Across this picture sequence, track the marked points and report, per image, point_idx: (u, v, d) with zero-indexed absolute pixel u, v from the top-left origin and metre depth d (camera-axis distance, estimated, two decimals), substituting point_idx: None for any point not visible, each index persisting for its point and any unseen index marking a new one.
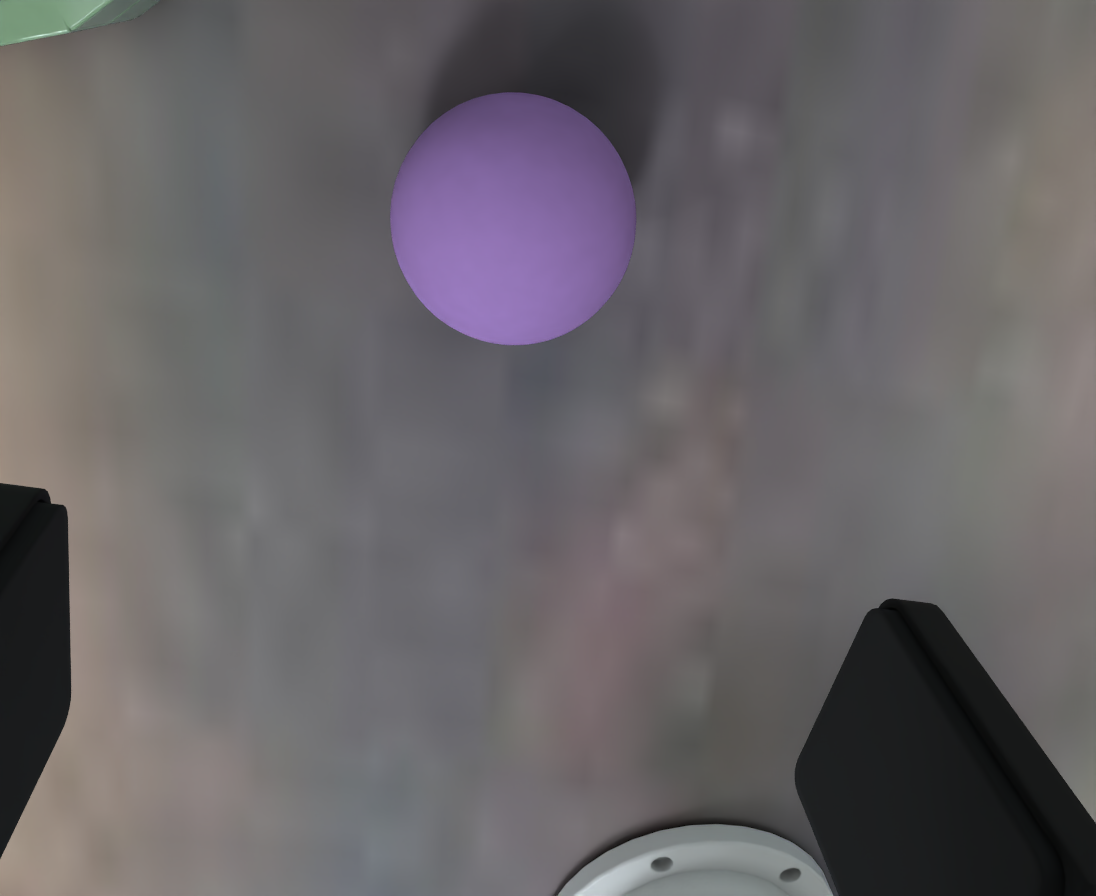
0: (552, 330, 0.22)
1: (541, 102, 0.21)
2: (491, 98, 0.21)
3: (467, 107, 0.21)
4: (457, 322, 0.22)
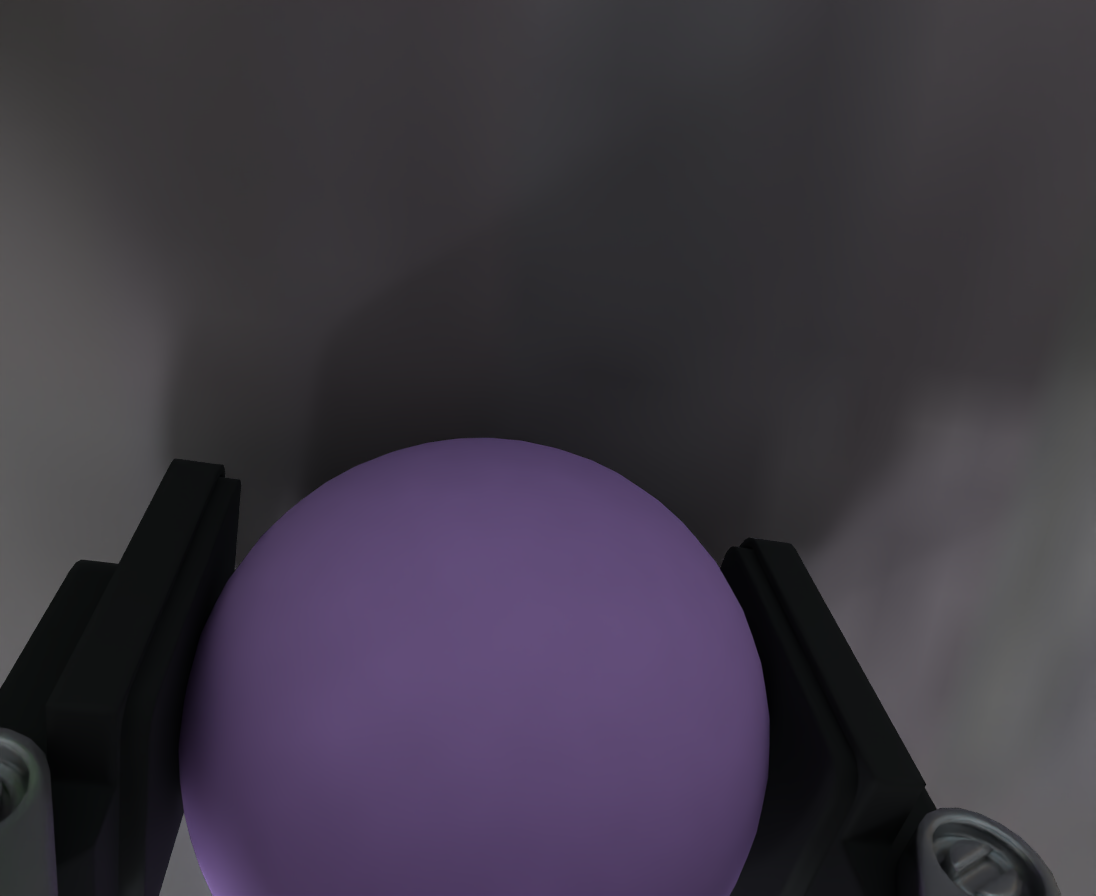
0: None
1: (542, 519, 0.08)
2: (412, 506, 0.08)
3: (349, 534, 0.08)
4: None
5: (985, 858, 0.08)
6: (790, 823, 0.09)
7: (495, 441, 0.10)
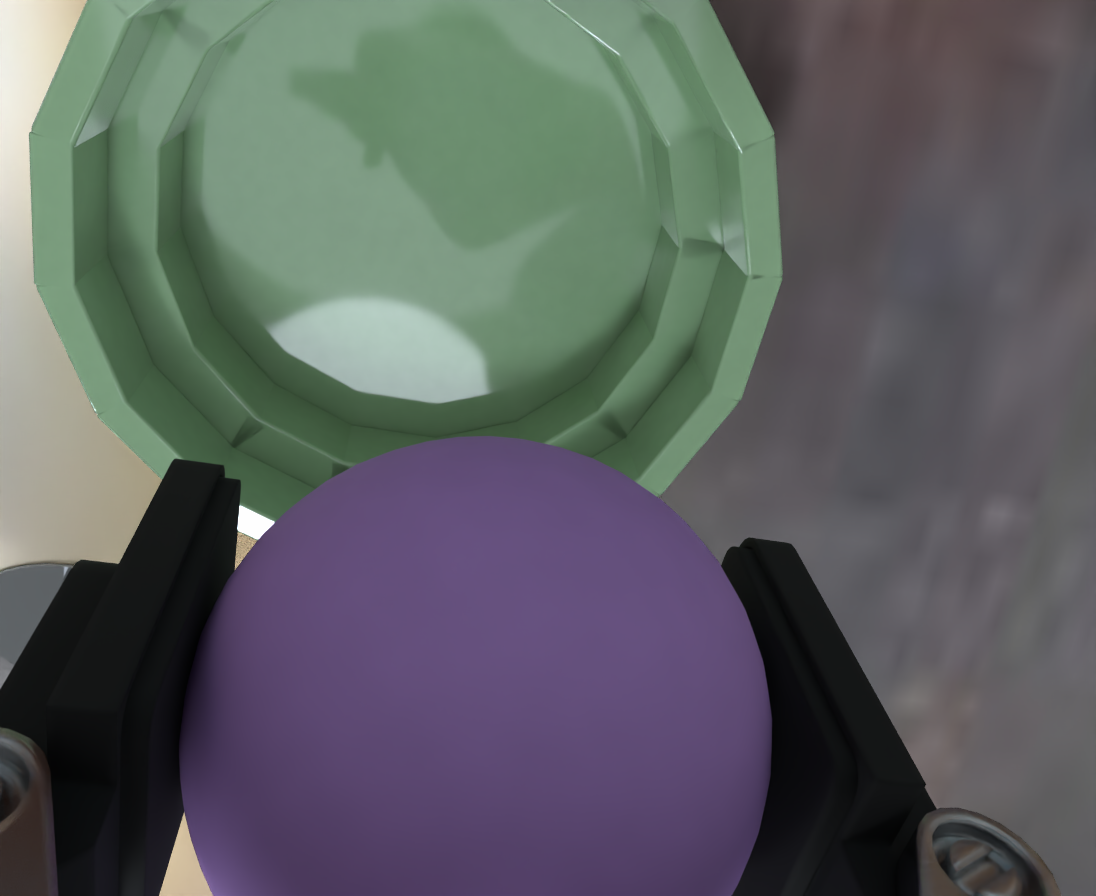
0: None
1: (544, 517, 0.08)
2: (414, 504, 0.08)
3: (351, 532, 0.08)
4: None
5: (985, 858, 0.08)
6: (790, 823, 0.09)
7: (497, 439, 0.10)
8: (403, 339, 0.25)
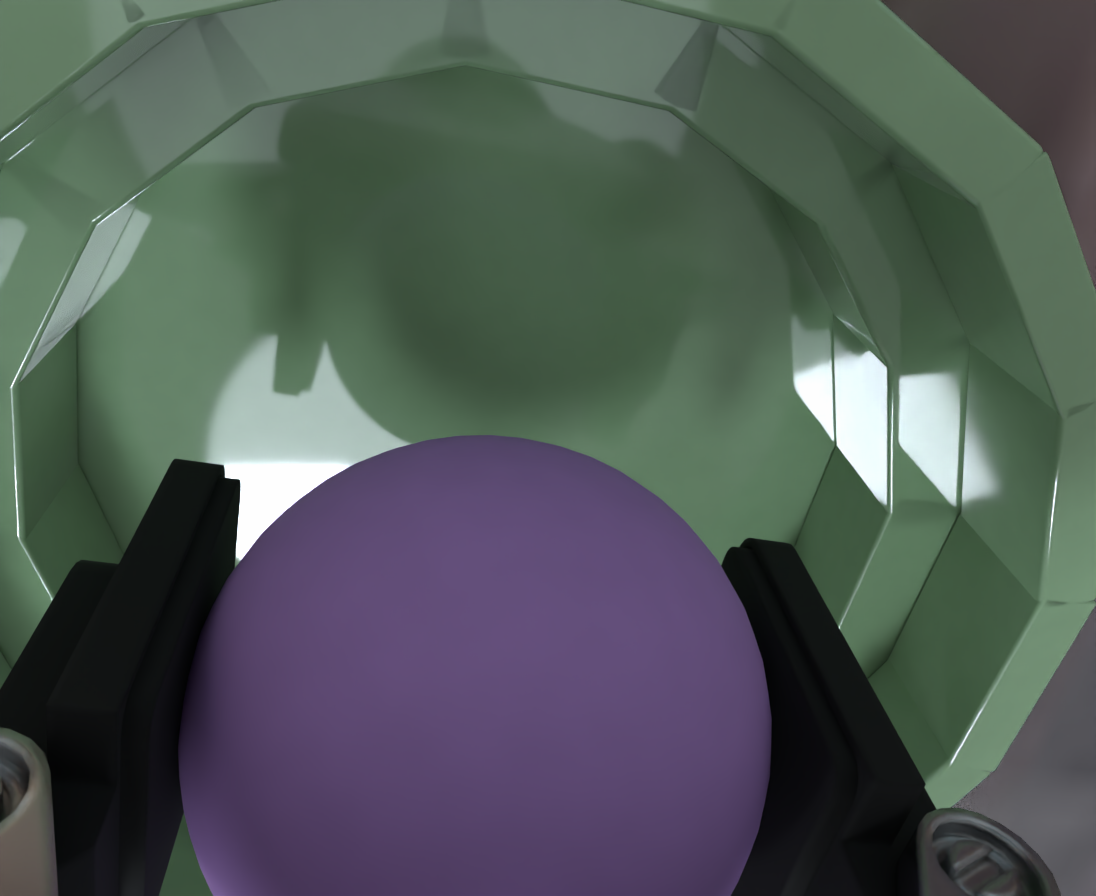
0: None
1: (544, 516, 0.08)
2: (413, 503, 0.08)
3: (350, 531, 0.08)
4: None
5: (985, 858, 0.08)
6: (790, 823, 0.09)
7: (496, 438, 0.10)
8: None
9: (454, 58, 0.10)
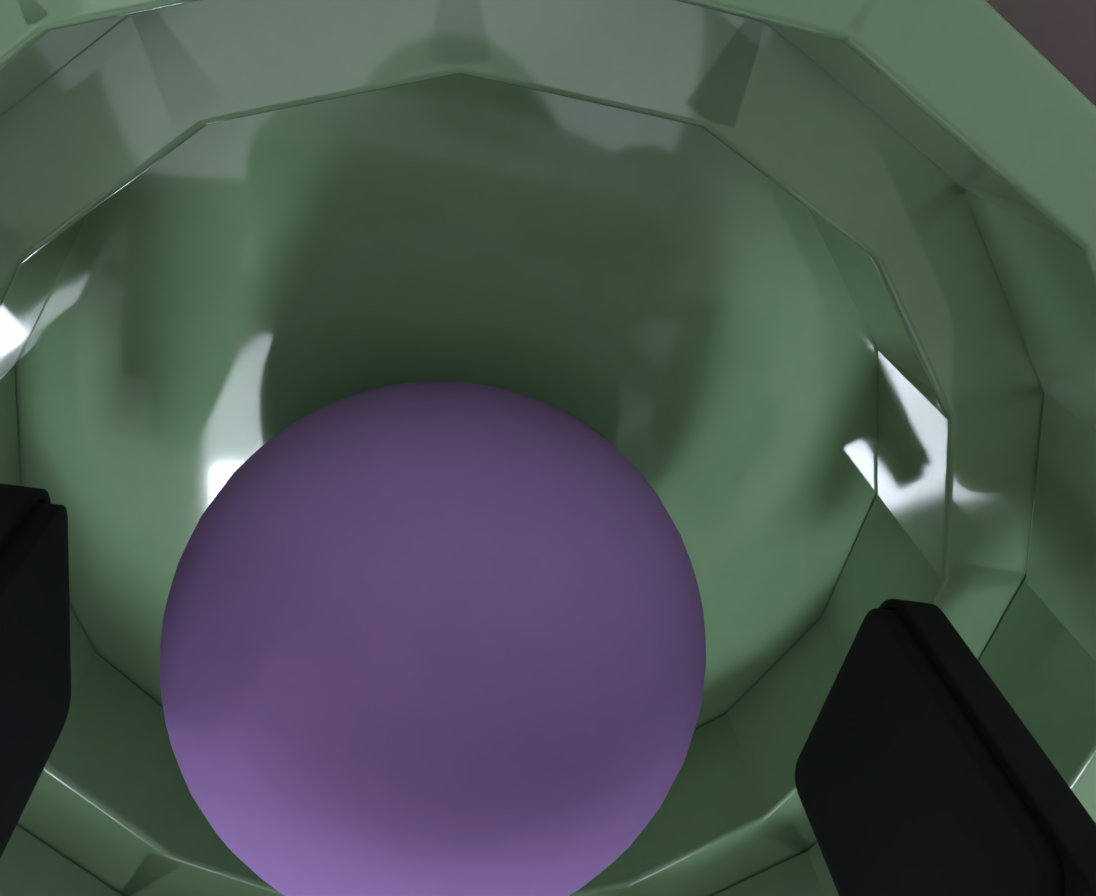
0: None
1: (483, 452, 0.09)
2: (368, 433, 0.09)
3: (310, 455, 0.09)
4: None
5: None
6: None
7: (464, 384, 0.10)
8: None
9: (446, 64, 0.09)
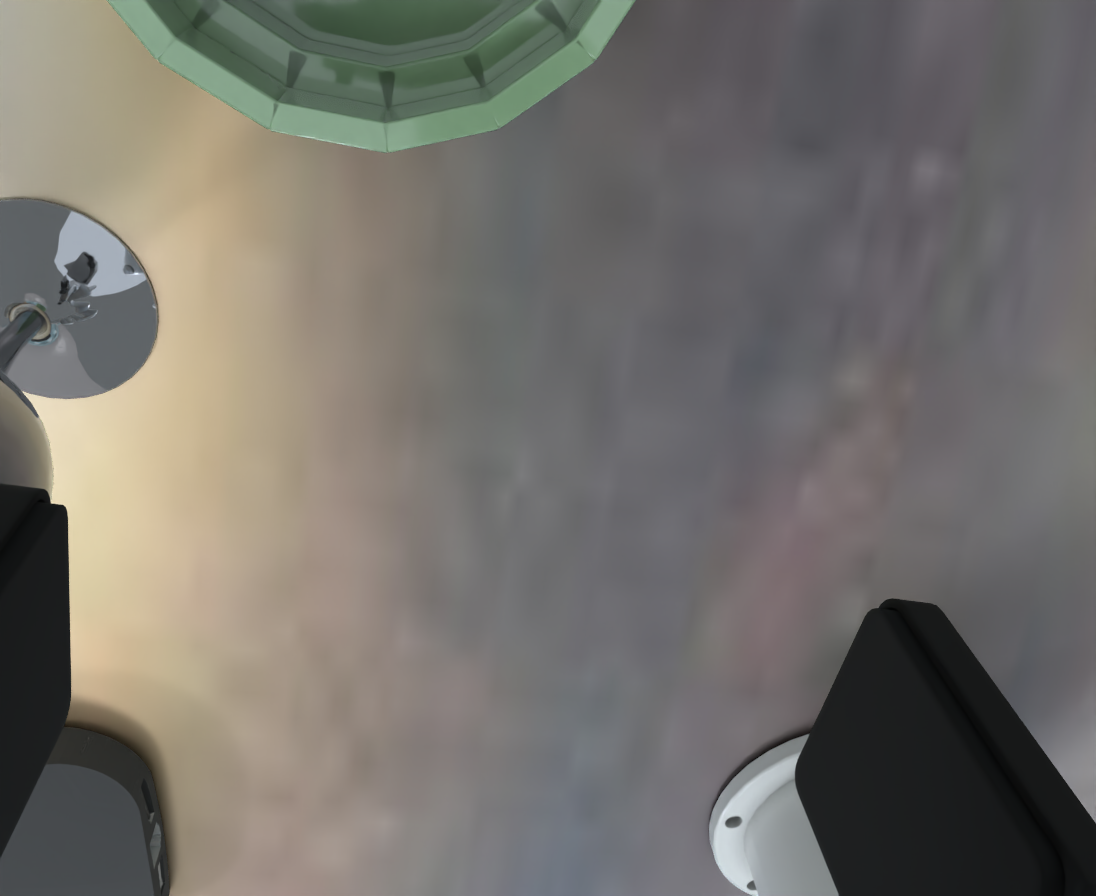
0: None
1: None
2: None
3: None
4: None
5: None
6: None
7: None
8: None
9: None
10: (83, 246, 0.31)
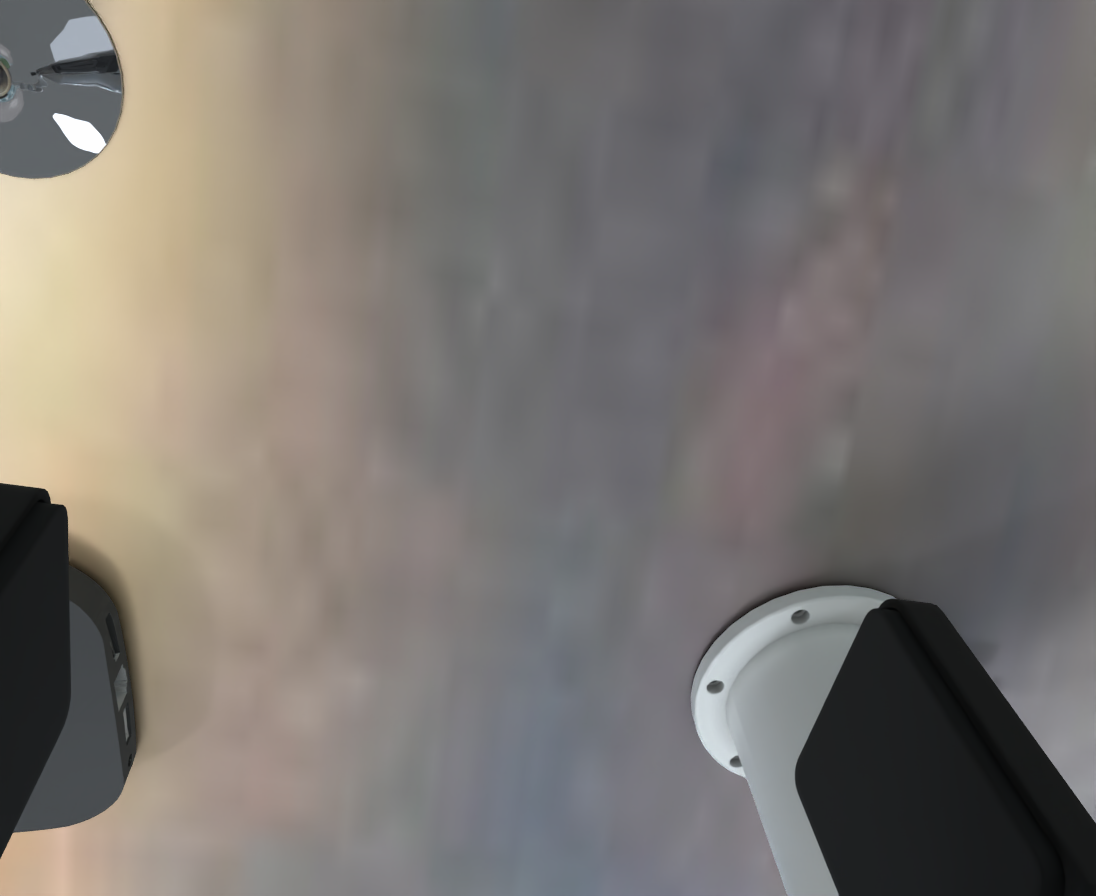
0: None
1: None
2: None
3: None
4: None
5: None
6: None
7: None
8: None
9: None
10: (46, 2, 0.30)
